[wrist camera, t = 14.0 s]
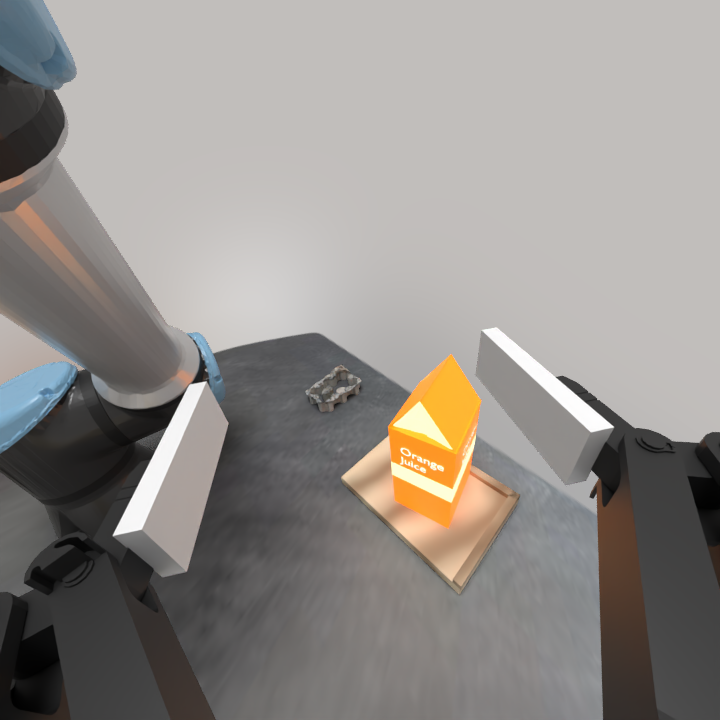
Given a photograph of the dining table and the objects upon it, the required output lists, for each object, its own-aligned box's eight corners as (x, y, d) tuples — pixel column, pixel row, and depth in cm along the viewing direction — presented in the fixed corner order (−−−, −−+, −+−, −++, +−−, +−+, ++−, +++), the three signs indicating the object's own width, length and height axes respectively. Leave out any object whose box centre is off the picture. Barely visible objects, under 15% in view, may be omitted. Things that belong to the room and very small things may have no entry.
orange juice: (470, 474, 43) (488, 360, 31) (449, 529, 37) (462, 415, 26) (419, 453, 47) (419, 345, 35) (393, 500, 41) (382, 389, 30)
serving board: (342, 483, 46) (340, 473, 44) (402, 429, 53) (401, 420, 51) (459, 594, 33) (461, 586, 31) (516, 504, 40) (520, 495, 39)
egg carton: (345, 377, 68) (343, 362, 66) (366, 392, 63) (364, 376, 60) (305, 399, 63) (300, 384, 61) (324, 417, 58) (320, 402, 56)
